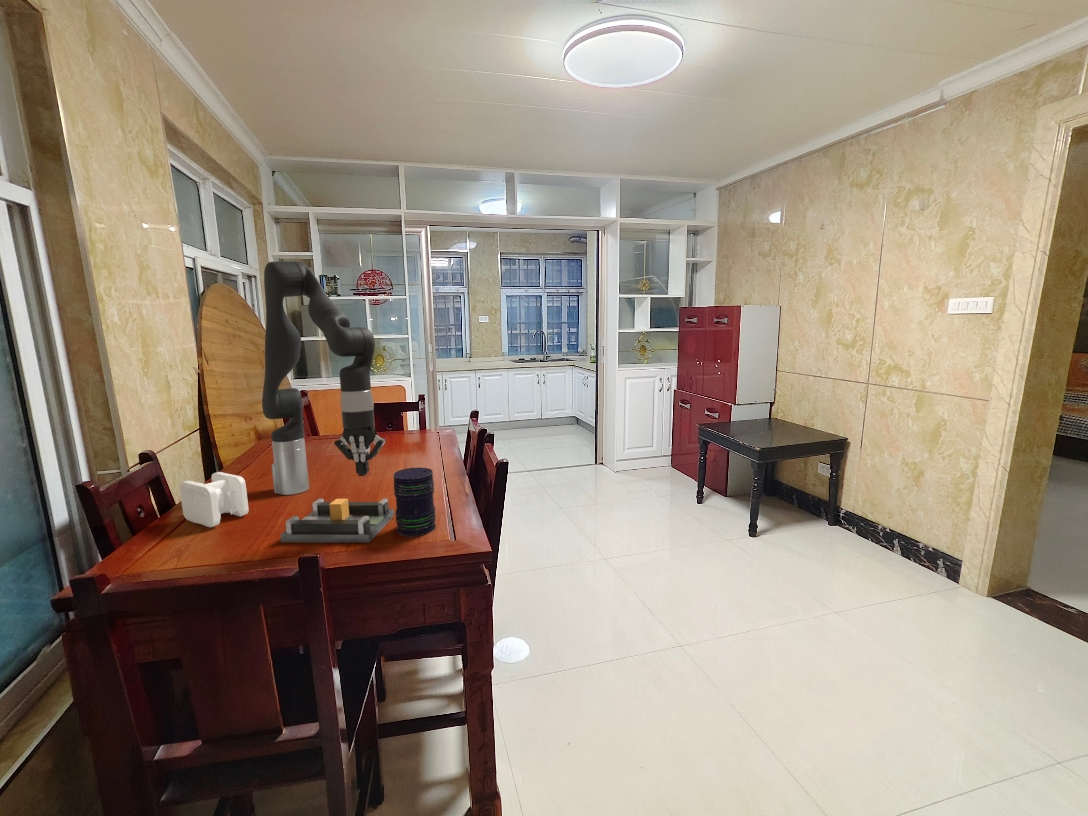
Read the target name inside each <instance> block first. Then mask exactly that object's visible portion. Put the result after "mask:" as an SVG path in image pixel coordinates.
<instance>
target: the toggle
mask: <svg viewBox="0 0 1088 816" xmlns="http://www.w3.org/2000/svg"><path fill="white" fill-rule="evenodd" d="M331 502H332V503H330V504H329V506H330V517H331V520H350V519H351V518H352V515H349V506H348V502H349V498H336V499H334V500H333V501H331Z"/></svg>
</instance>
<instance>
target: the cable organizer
mask: <svg viewBox="0 0 1088 816" xmlns="http://www.w3.org/2000/svg"><path fill="white" fill-rule="evenodd" d="M210 479H211V482H209V483H202V482H201V483H200V482H197V481H192V480H184V481H182V482H180V483H179V486H178V487H179V494H180V501H181V507H182V508H181V509H182V514H183V516H184V518H185V519H186V521H189V522H191V523H195V524H199V525H201V526H204V527H207V528H214V527H215V526H218V525H220V523H221V519H222V516H221V515H222V514H230V516H232V515H234V516H237V517H240V518H241V517H243V516H244V515H247V514H248V513H249V501H248V493H247V492H248V491H247V485H246V480H245V479H244V477H242V476H240V475H238V474H237V475H236V474H230V473H226V472H222V471H217V472H214V473H212V474H211V478H210Z"/></svg>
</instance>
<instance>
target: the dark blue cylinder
mask: <svg viewBox="0 0 1088 816" xmlns="http://www.w3.org/2000/svg"><path fill="white" fill-rule="evenodd" d="M433 475H434V473H433V470H432V469H431V468H428V467H410V468H403V469H400V470H397V471H395V472H394V473H393V490H394V491H393V495H394V497H395V501H396V503H395V504H396V509H395V521H396V526H397V528H396V529H397V530H396V531H397V534H399V535H400V536H404V537H410V536H411V537H420V536H419V535H421V536H424V534H425V535H428V534H430V533H433V532H434V531H435V529H436V528H437V525H436V518H437V517H436V515H437V514H436V506H435V505H434V504H435V502H434V493H435V487H434V486H435V482H434V476H433ZM427 533H428V534H427Z"/></svg>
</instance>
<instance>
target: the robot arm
mask: <svg viewBox="0 0 1088 816" xmlns="http://www.w3.org/2000/svg"><path fill="white" fill-rule="evenodd" d="M263 271H264V272H263V283H264V286H263V287H264V298H265V336H264V379H263V388H262V395H261V396H262V397H261V398H262V399H261V409H262V413H263V416H264V417H265V418H266V419H268V420H281V419H289V420H288V421H287V422H286V423H285V424H284V425H282V426H280V427H278V428H276V429H274V430H272V431H271V433H270V437H271V445H272V454H273V463H272V464H271V472H272V474H271V475H272V482H273V489H274V494H277V495H282V496H283V495H284V496H290V495H297V494H300V493H301V494H302V493H304V492H306V491H308V490H310V482H309V473H308V470H309V469H308V461H307V460H308V459H307V454H306V452H307V451H306V441H305V433H304V432H305V431H304V429H305V427H304V415H303V414H304V412H303V410H304V409H303V408H304V407H303V398H302V394H301V392H300V390H299V389H298V388H295V387H293V388H291V387H289V388H280V385H281V384H282V382H283V380H284V379H285V378H286V377H287V375H289V373H290V372H291V371H292V370H293V369H294V368H295V366H297V364H298V362H299V361H300V358H301V352H302V351H301V349H302V337H301V333H300V332H299V330H298V329H297V327H296V326H295V325H294V323H293V322H292V321H291V319H290V318H289V316H288V314H287V313H286V311H285V309H284V299H285V298H290V297H302V296H304V297H306V298H309V301H308V306H307V310H308V315H309V317H310V319H311V321H312V323H313V324H315V325H316V327H317V328H318V329H319V330H320V331H321V332H322V333H323V335H324V337H325V340H326V343H327V345H328V349H329V350H330V352H331V353H332V354H334V355H336V356H338V357H341V358H342V357H343V358H345V357H346V358H348V357H354V359H353V362H352V363H351V364H350V365H347V366H344V367H342V368H340V370H339V384H340V409H341V410H340V411H341V420H342V428H343V431H342V433H341V437H339V438H338V439H337V440H334V442H333V444H334V445H335V446H336V448H337V449H338V450H339V452H341V453H342V454H343V456H344V457H345V458H346V459H347V460H349V461H350V460H351V461H354V463H355V474H356V475H358V476H359V477H365V476H367V475H368V473H370V463H369V461H370V460H372V459H374V458H375V457H376V456H377V455H378V453H379V452H380V450H381V449H382V448H383V446H384V444H385V443H386V441H387V439H386V438H384V437H383V438H382V437H381V436H379V435H378V432H377V430H376V422H375V410H374V406H375V404H374V398H373V394H372V386H371V385H372V383H371V370H372V364H373V363H372V362H373V358H374V353H375V350H376V349H375V348H376V341H375V336H374V335H373V333H372V331H371V330H370V329H369V328H366V327H361V326H360V327H358V326H357V327H356V326H354V327H352V326H351V322H350V319H349V317H348V316H347V315H346V314H345V313H344V312H343V311H342V310H341V308H339V307H338V306H337V305H336V304H335V303H334V301H332V300H331V298H330V297H329V295H328V293H326V292H327V291H325V288H323V286H322V284H321V282H320V281H319V280H318V278H317V277H316V275H315V274H314V272H313V270H312V269H311V268H310V267H309V266H308V265H307V264H305V263H304V262H302V261H297V260H296V261H294V260H293V261H290V260H289V261H284V260H283V261H280V260H279V261H277V260H276V261H275V260H274V261H269V262H268V263H266V265H265V267H264V270H263ZM372 444H374V447H373V448H372V449H371V446H372ZM370 450H371V451H370Z"/></svg>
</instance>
